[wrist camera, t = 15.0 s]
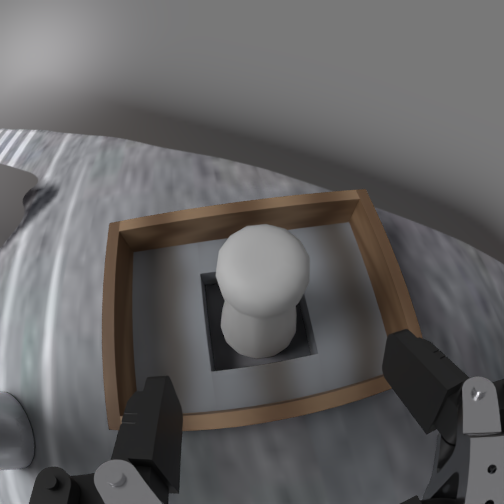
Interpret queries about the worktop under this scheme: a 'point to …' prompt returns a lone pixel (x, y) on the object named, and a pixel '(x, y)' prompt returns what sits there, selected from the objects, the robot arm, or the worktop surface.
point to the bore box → (204, 273)
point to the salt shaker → (261, 288)
